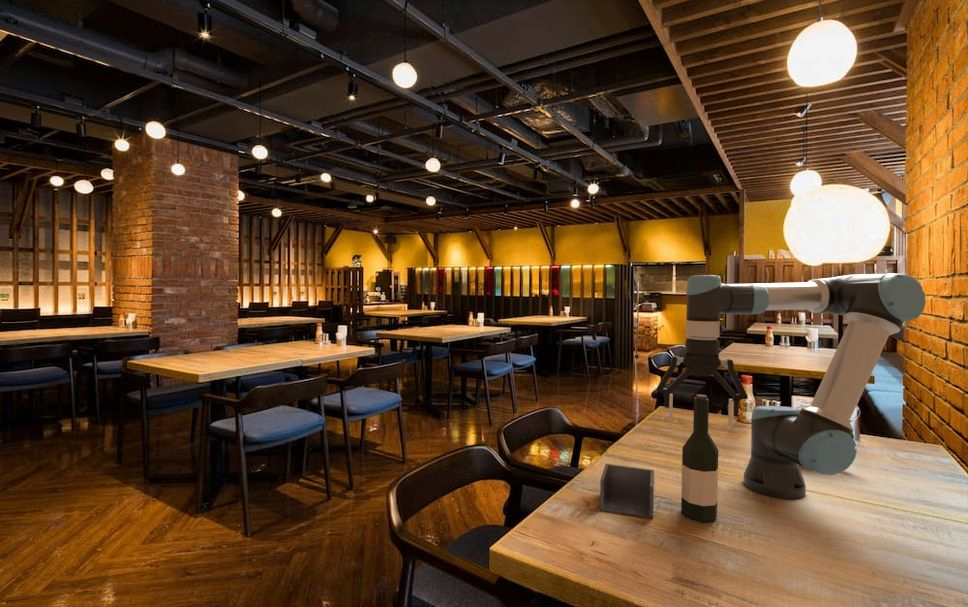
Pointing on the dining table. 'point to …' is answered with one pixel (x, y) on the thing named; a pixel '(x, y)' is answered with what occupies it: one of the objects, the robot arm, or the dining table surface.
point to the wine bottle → (700, 468)
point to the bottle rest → (627, 491)
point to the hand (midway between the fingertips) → (699, 423)
